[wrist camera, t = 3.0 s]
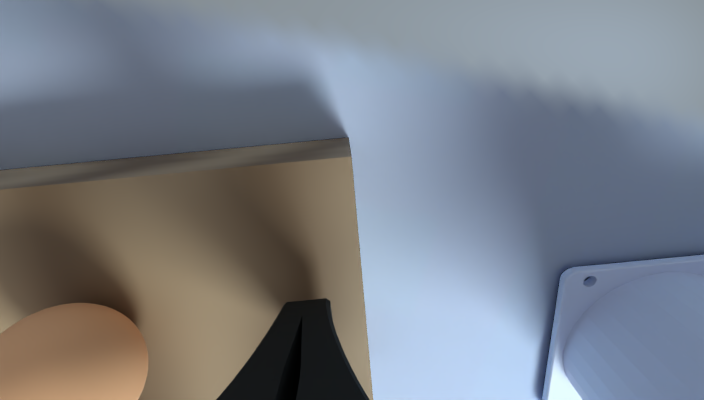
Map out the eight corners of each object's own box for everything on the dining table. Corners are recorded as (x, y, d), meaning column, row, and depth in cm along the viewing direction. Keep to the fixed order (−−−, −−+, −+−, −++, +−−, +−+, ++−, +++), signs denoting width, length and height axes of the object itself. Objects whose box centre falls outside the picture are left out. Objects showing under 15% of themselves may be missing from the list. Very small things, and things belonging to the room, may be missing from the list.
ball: (150, 270, 11) (62, 374, 8) (183, 367, 13) (122, 494, 9) (21, 282, 11) (-131, 393, 8) (69, 378, 13) (-38, 510, 9)
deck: (348, 137, 13) (351, 156, 10) (368, 359, 16) (373, 410, 14) (-356, 203, 12) (-514, 237, 10) (-174, 412, 16) (-259, 472, 14)
